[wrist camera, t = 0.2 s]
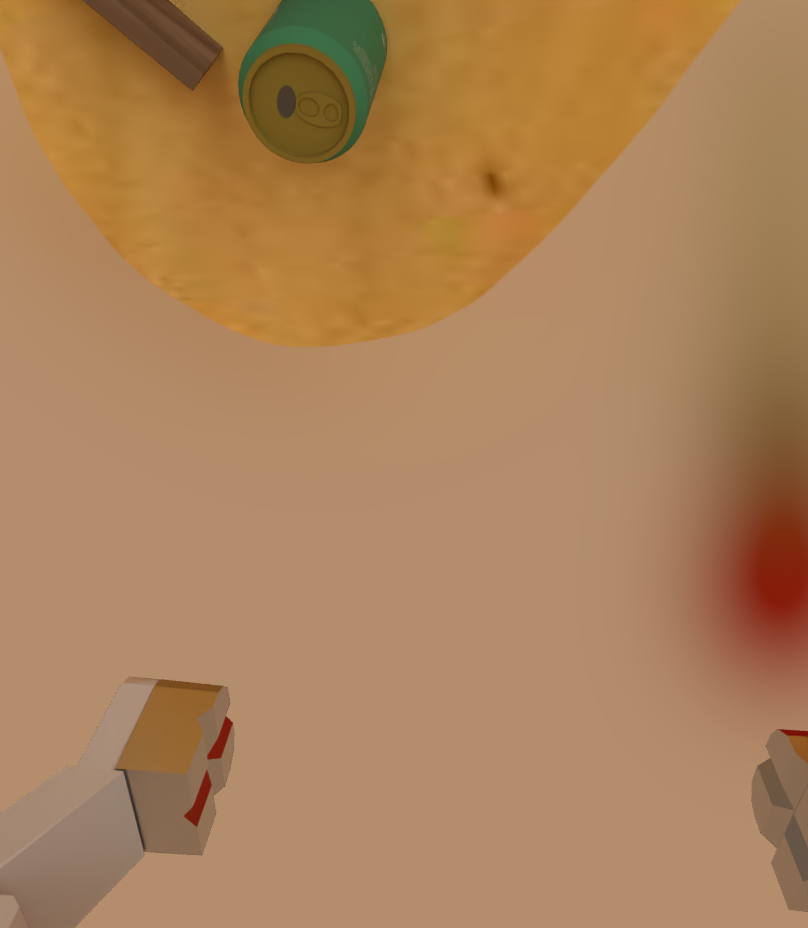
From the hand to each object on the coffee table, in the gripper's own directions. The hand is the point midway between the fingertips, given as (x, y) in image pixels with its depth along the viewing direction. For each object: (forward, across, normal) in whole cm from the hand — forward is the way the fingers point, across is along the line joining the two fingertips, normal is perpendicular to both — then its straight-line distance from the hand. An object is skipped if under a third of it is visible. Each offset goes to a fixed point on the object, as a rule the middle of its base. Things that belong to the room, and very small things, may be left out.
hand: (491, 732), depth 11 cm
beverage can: (+52, +11, -9) cm, 54 cm away
